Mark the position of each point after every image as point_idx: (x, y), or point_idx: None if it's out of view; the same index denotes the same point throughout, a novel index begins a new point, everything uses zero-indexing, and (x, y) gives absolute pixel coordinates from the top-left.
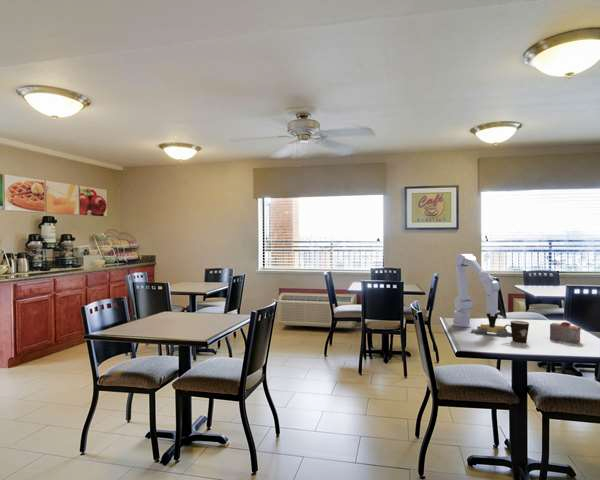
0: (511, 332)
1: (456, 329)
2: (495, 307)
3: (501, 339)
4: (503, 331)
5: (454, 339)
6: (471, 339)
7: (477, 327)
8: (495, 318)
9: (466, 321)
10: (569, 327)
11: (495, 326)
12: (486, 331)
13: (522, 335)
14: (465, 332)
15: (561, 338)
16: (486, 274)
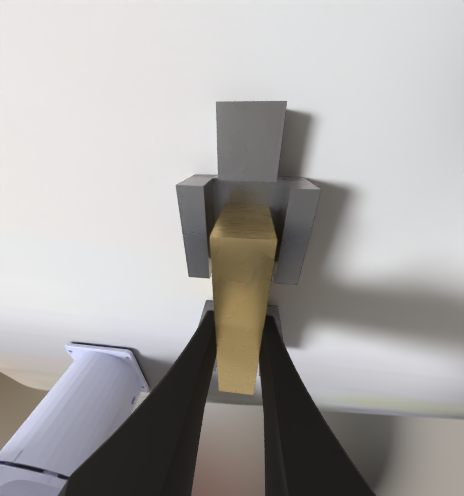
0: (227, 121)
1: (209, 388)
2: None
3: (435, 239)
4: (309, 228)
5: (421, 414)
6: (424, 375)
7: (216, 364)
8: (356, 481)
9: (111, 391)
10: None
11: (264, 315)
12: (279, 327)
13: None
14: (258, 373)
15: None
16: None
